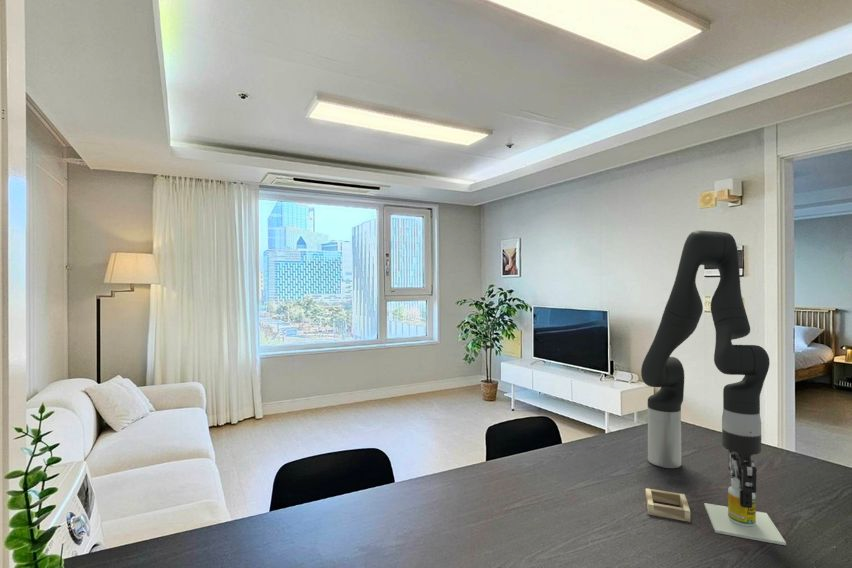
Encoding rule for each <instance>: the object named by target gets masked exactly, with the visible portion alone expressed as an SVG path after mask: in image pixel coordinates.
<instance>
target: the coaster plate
mask: <svg viewBox="0 0 852 568" xmlns="http://www.w3.org/2000/svg"><path fill="white" fill-rule="evenodd" d="M703 505H704V508H705V511H706V513H707V515H708V518H709V521H710V522H711V526H712V527H713V530H714V532H715V533H716V534H719V535H720V534H722V535H727V536H733V537H737V538H743V539H749V540H752V541H753V540H754V541H760V542H765V543H772V544H775V545H776V544H777V545H780V546H781V545H783V546H786V545H787V542H786V540H785V539H784V537H783V536H782V534H781V533H780V531H779V530H778V528H777V527H776V525H775V523H774V522H773V521H772V519H771V517H770V516H769V514H768V513H767V512H762V511H757V510H756V524H755V525H754V526H751V527H746V526H741V525H738V524H736V523H734V522H732V521H731V520H730V519H729V517H728V506H725V505H718V504H713V503H706V502H704V503H703Z"/></svg>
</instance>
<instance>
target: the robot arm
mask: <svg viewBox="0 0 852 568" xmlns="http://www.w3.org/2000/svg"><path fill="white" fill-rule="evenodd" d="M737 245H738V244H737V242H736V240H735V238H734V236H733V235H732V234H731V233H729V232H724V231H712V230H711V231H710V230H693V231H692V232H690V233H689V234H688V236H687V238H686V240H685V242H684V244H683V248H682V251H681V255H680V259H679V264H678V268H677V270H676V271H677V272H676V276H675V279H674V283H673V286H672V288H671V291H670V294H669V297H668V299H667V302H666V305H665V307H664V310H663V313H662V316H661V319H660V322H659V326H658V328H657V330H656V333H655V336H654V339H653V341H652V343H651V345H650V346H649V349H648V351H647V352H646V355H645V358H644V360H643V362H642V365H641V370H640V374H641V379H642V381H643V383H644V384H645V385H646V386H648V387H649V388H659V390H658V391H657V392H656V393H653V394H652V395H650V396H649V397H648V398H647V460H648V461H647V462H649V463H650V464H652V465H654V466H657V467H660V468H665V469H678V468H680V467H681V466H682V419H681V418H682V410H681V409H682V404H683V401H684V394H685V393H684V392H685V369H684V365H683V363H682V362H681V361H680V360H679V358H677V357H675V356H671V355H672V353H673V352H674V351H675V350H676V349H677V348H678V347H680V345H682V344H683V343H684V342H685V341H687V339H688V338H690V337H691V335H692V334H693V333H694V332H695V331H696V329H697V326H698V324H699V322H700V320H701V317H702V315H703V311H704V310H703V309H704V308H703V307H704V306H703V301H702V299H701V296H700V292H699V291H698V288H697V283H696V279H697V275H698V271H699V268H700V266H709V267H711V266H712V267H716V268H717V269H718V272H719V278H720V279H719V282H718V285H717V287H716V290H715V291H714V292H713V296H712V298H711V299H710V301H711V302H710V314H711V317H712V321H713V324H714V328H715V329H714V331H715V343H714V344H715V345H714V347H715V348H714V354H713V362H714V366H715V367H716V368H717V370H718V371H719V372H720V373H722V374H724V375H727V376H728V375H730V376H733V375H734V376H735V375H736V376H743V378H742V379H741V380H740V381H737V382H732V383H729V384H728V383H727V384H726V385H725V386H724V387H723V391H722V397H723V398H722V399H723V400H722V401H723V402H722V404H723V406H722V408H723V409H722V415H721V439H722V440H721V442H722V443H721V444H722V446H723V448H725V449H726V450H727V452H728V467H727V468H728V470H729V471H730V473H729V474H730V476H731V478H733V477H736V479H737V480H738V481H739V489H740V505H741V506H742V507H745V508H752V493H755V494H756V493H757V472H758V469H757V468H756V466H755V463H754V460H752V458H751V457H752V456H754V455H755V456H756V455H758V454H761V453H762V418H761V402H760V401H761V393H762V389H763V386H764V384H765V379H766V378H767V375H768V371H769V370H770V361H771V360H770V356H769V354H768V352H767V351H766V350H765V348H763V347H762V346H760V345H756V344H733V343H732V341H733V340H737V339H741V338H745V337H747V336H748V335H749V334H750V333H751V325H750V322H749V319H748V318H749V317H748V316H747V312H746V309H745V308H746V307H745V305H744V300H743V296H742V290H741V289H742V288H741V274H740V265H739V263H740V262H739V253H738V246H737ZM746 482H749V486H745V483H746Z"/></svg>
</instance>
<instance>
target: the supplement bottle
mask: <svg viewBox="0 0 852 568" xmlns="http://www.w3.org/2000/svg"><path fill="white" fill-rule="evenodd" d="M732 477H733V476H732ZM732 477H731V478H730V486H729V487H728V488H727V507H728V517H729V519H730V520H731V521H732V522H734V523H736V524H738V525H741V526H746V527H751V526H754V525H755V524H756V511H757V510H756V508H757V507H756V505H757V503H756V502H757V501H756V500H757V499H756V493H752V508H745V507H742V506H741V505H740V489H739V481H738V480H737V479H736V477H733V478H732ZM745 486H749V482H746V483H745Z"/></svg>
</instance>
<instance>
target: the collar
mask: <svg viewBox="0 0 852 568" xmlns="http://www.w3.org/2000/svg"><path fill="white" fill-rule="evenodd" d="M645 502H646V508H647V514H648V515H651V516H655V517H661V518H667V519H672V520H678V521H684V522H689V523H690V522H691V509H690V506H689V504H688V500H687V498H686V494H685V493H679V492H673V491H672V492H671V491H665V490H659V489H652V488H648V487H647V488H645ZM656 502H658V503H656ZM659 502H660V503H659ZM661 503H662V504H661ZM663 503H665V504H663ZM666 504H667V505H666ZM668 504H669V505H668ZM671 504H672V505H671ZM675 505H677V506H675ZM678 506H679V507H678Z"/></svg>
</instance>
